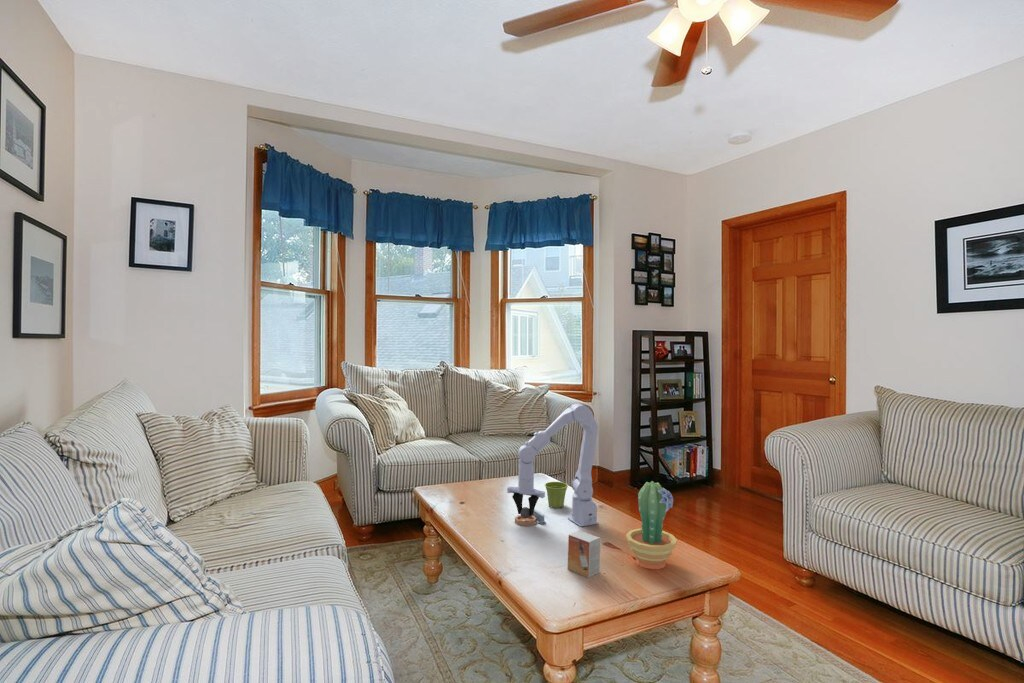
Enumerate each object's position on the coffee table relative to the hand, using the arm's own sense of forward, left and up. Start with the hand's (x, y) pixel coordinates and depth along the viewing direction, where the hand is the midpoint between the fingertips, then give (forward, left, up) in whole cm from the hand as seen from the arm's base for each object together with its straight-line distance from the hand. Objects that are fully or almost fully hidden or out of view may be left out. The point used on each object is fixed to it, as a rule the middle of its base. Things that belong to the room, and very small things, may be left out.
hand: (525, 514), depth 198 cm
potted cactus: (-48, -19, -3) cm, 51 cm away
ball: (0, 0, -2) cm, 2 cm away
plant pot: (+11, -20, -3) cm, 23 cm away
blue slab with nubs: (0, -5, -3) cm, 6 cm away
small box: (-44, +3, -3) cm, 44 cm away
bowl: (0, 0, -3) cm, 3 cm away
